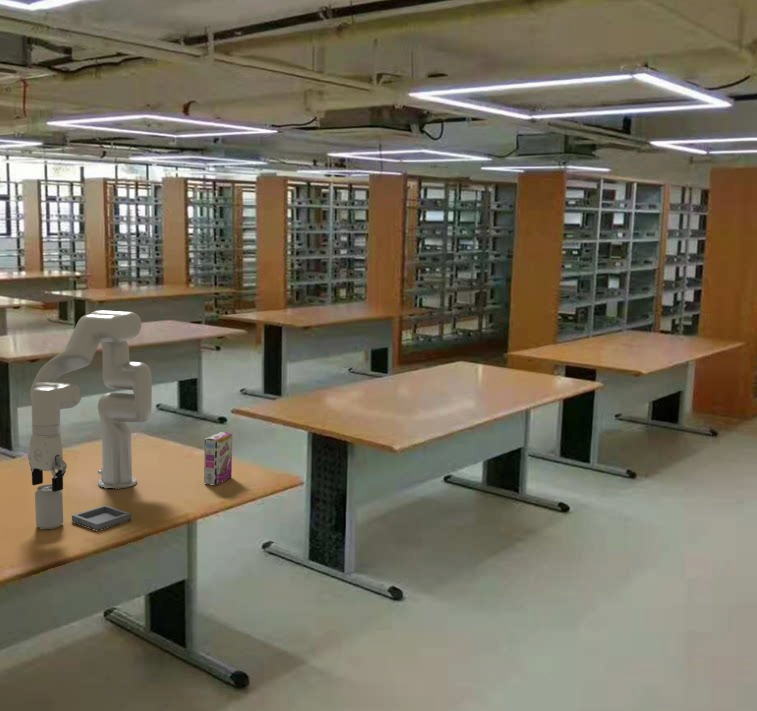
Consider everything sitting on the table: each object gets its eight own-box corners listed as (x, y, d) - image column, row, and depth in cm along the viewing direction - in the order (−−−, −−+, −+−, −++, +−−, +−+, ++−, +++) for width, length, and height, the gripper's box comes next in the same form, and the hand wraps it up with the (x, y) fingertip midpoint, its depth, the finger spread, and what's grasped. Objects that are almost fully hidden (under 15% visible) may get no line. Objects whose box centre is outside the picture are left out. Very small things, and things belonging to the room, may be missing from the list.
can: (68, 526, 245) (67, 486, 243) (43, 532, 239) (42, 492, 237) (55, 519, 250) (54, 481, 248) (31, 525, 244) (29, 486, 242)
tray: (72, 522, 248) (71, 515, 247) (105, 511, 257) (105, 504, 257) (97, 531, 241) (97, 524, 241) (131, 520, 251) (131, 513, 250)
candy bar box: (216, 486, 285) (216, 440, 282) (203, 484, 287) (203, 438, 284) (232, 477, 295) (232, 432, 293) (220, 475, 297) (220, 431, 295)
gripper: (16, 427, 241) (18, 484, 243) (52, 436, 231) (53, 496, 234) (40, 423, 247) (41, 479, 249) (76, 432, 238) (77, 490, 240)
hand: (47, 487), depth 242 cm, fingers open, 9 cm apart
